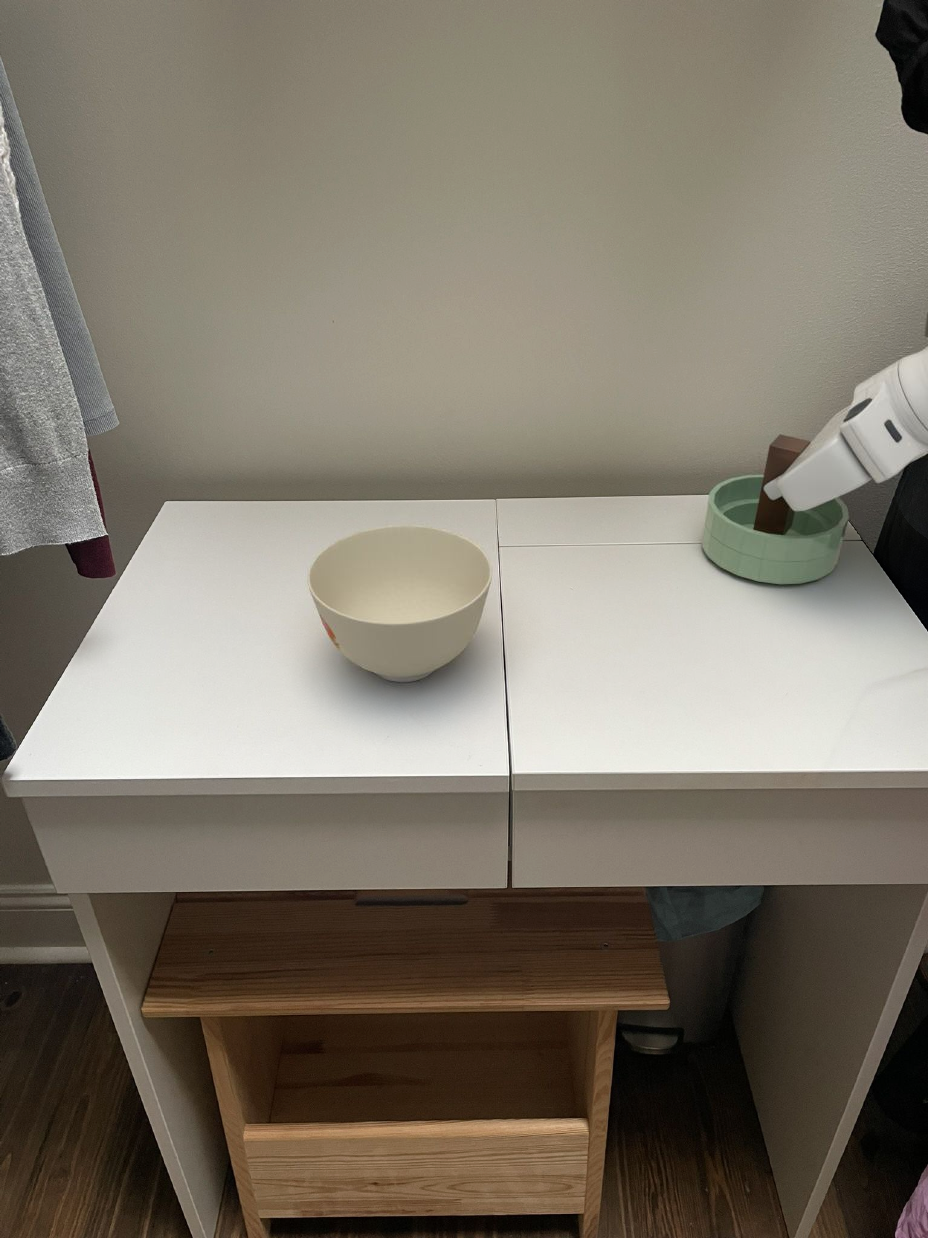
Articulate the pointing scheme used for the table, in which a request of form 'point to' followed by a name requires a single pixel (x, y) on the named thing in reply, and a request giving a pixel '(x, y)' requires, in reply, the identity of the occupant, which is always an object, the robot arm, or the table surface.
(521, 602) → the table surface
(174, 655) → the table surface
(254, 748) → the table surface
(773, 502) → the block
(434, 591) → the bowl
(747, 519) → the dish
